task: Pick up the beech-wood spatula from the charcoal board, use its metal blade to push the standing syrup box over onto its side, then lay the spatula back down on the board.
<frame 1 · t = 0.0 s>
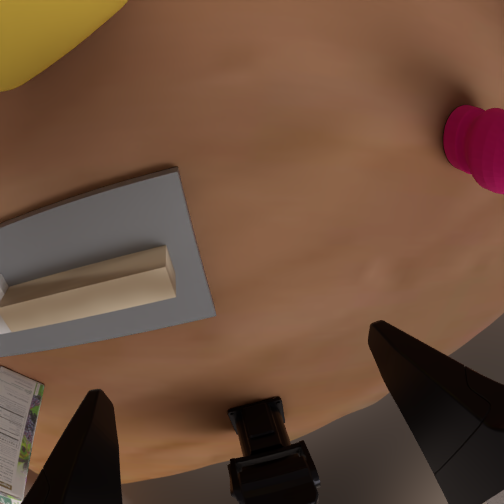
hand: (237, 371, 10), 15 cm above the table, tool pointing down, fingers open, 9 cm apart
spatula: (32, 294, 21), point 1 cm above the table, touching charcoal board
syrup box: (20, 385, 27), on the table
charcoal board: (37, 285, 22), on the table
pepper mill: (462, 136, 24), on the table
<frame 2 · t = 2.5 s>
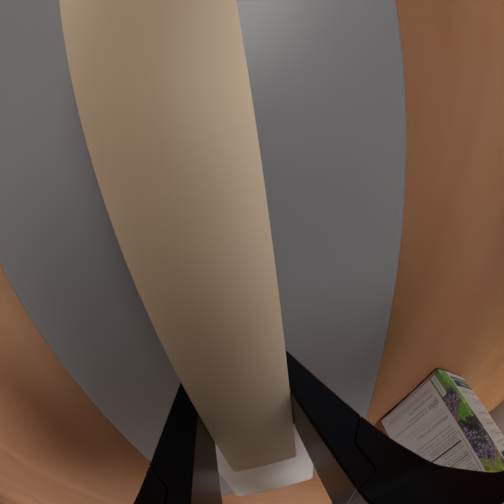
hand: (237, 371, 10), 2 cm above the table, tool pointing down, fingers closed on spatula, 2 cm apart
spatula: (241, 382, 11), point 1 cm above the table, touching charcoal board, gripper
syrup box: (422, 396, 20), on the table
charcoal board: (236, 359, 12), on the table
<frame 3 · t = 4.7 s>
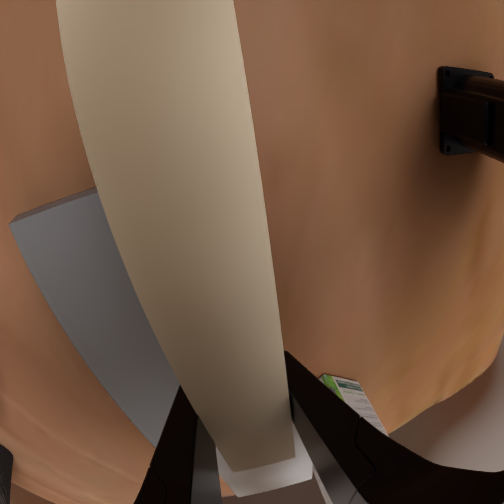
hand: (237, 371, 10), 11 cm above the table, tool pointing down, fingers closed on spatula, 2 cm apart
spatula: (240, 383, 11), point 10 cm above the table, touching gripper
syrup box: (322, 393, 30), on the table
charcoal board: (173, 360, 23), on the table
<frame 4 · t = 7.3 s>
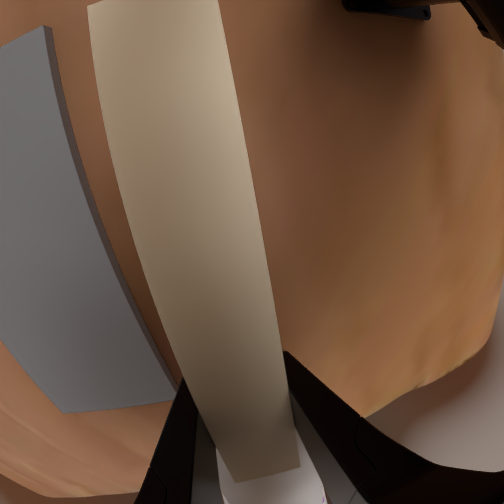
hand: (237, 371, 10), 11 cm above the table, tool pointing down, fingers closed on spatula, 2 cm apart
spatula: (244, 390, 11), point 10 cm above the table, tilted 10°, touching gripper
charcoal board: (36, 273, 18), on the table
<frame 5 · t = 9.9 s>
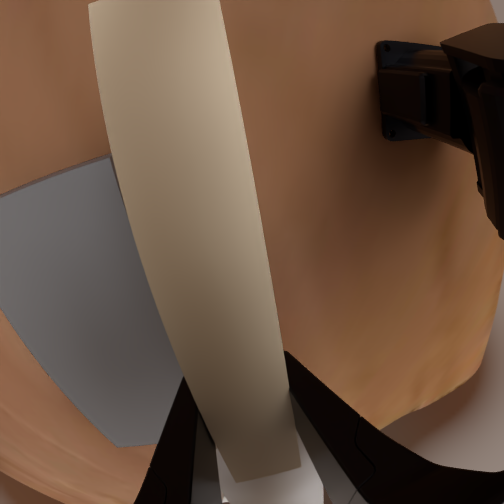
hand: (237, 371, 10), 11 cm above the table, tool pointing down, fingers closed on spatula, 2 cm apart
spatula: (244, 390, 11), point 11 cm above the table, tilted 10°, touching gripper
charcoal board: (107, 351, 23), on the table
when the fingers open (3 cm above the table, at t = 12.3 s): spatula drops 1 cm, resting on charcoal board.
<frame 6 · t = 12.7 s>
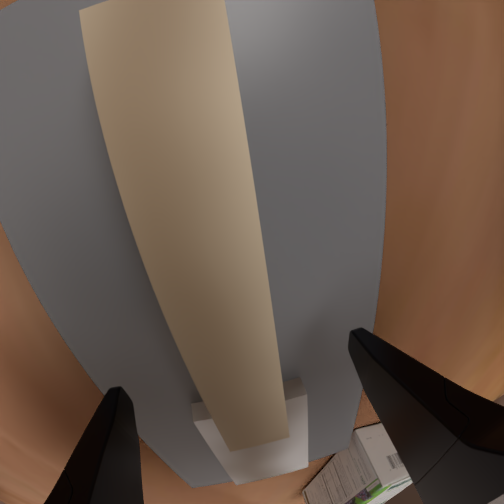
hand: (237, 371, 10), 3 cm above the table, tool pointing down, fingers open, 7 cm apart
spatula: (237, 365, 12), point 1 cm above the table, touching charcoal board
syrup box: (398, 444, 19), point 3 cm above the table
charcoal board: (231, 341, 13), on the table
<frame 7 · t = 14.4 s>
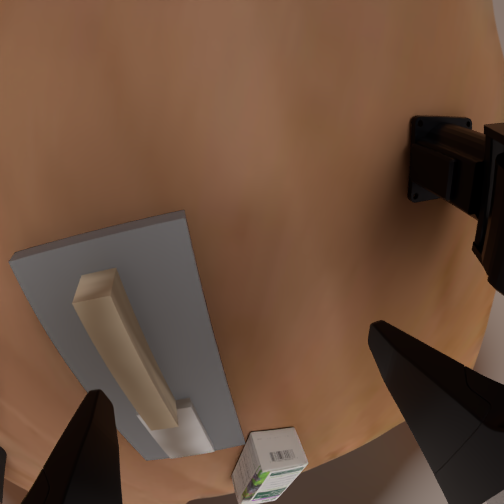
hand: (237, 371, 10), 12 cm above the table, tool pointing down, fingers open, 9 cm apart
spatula: (155, 389, 24), point 1 cm above the table, touching charcoal board
syrup box: (279, 446, 31), point 3 cm above the table
charcoal board: (154, 377, 25), on the table
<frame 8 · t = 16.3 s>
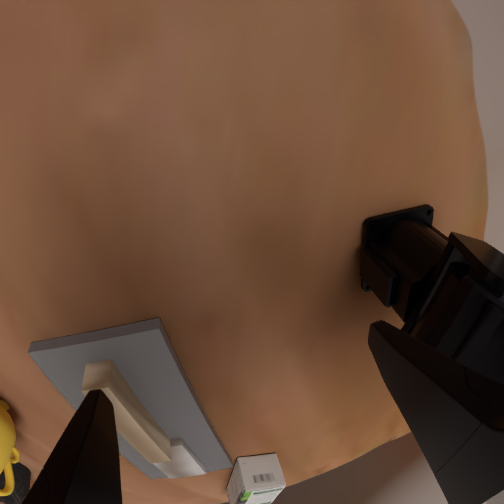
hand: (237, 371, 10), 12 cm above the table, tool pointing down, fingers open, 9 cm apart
travel mug: (12, 464, 33), on the table
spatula: (152, 432, 29), point 1 cm above the table, touching charcoal board
syrup box: (262, 470, 35), point 3 cm above the table
charcoal board: (151, 422, 30), on the table
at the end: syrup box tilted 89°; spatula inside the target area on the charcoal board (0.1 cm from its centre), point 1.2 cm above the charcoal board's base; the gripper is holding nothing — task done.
